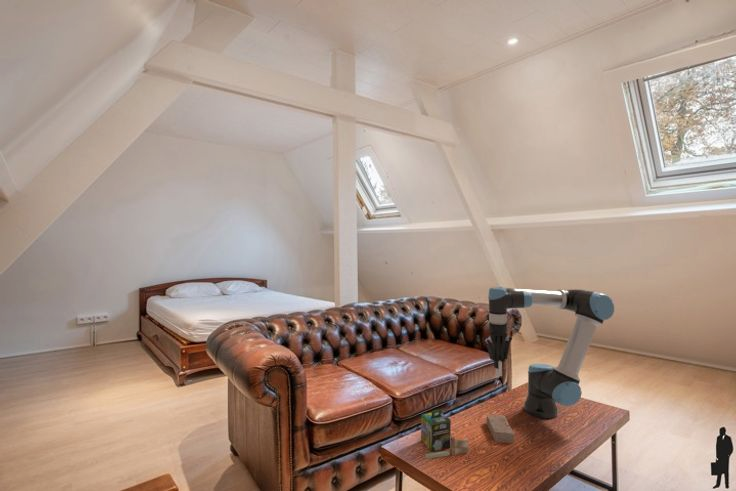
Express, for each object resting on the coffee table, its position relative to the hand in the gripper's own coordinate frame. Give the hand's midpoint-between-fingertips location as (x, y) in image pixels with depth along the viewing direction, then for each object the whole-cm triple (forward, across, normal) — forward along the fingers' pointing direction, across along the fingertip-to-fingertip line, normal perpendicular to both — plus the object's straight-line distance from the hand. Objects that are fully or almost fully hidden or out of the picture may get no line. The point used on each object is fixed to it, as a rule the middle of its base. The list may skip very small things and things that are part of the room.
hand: (498, 375), depth 164 cm
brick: (+25, +1, +2) cm, 25 cm away
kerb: (+23, +36, +11) cm, 45 cm away
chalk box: (+24, +33, +3) cm, 41 cm away
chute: (+24, +27, +4) cm, 36 cm away
